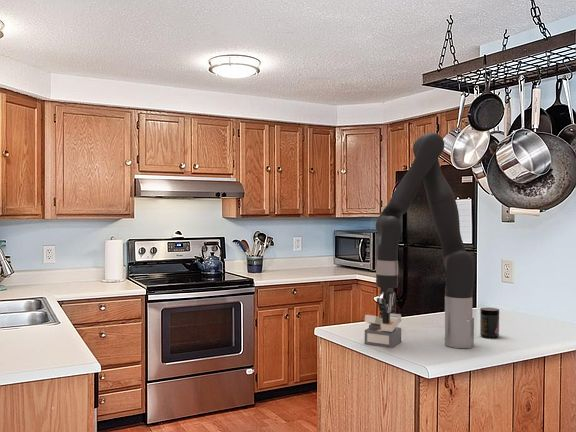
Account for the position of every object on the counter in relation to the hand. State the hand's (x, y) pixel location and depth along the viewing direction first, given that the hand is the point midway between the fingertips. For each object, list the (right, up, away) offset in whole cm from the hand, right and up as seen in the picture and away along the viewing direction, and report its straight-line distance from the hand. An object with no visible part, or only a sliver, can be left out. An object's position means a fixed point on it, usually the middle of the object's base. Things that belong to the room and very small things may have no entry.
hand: (386, 323), depth 186 cm
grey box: (0, -8, +5) cm, 10 cm away
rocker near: (+3, -2, +4) cm, 5 cm away
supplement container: (+41, -8, +14) cm, 44 cm away
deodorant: (+5, -8, +24) cm, 26 cm away
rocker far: (-3, -2, +6) cm, 7 cm away
